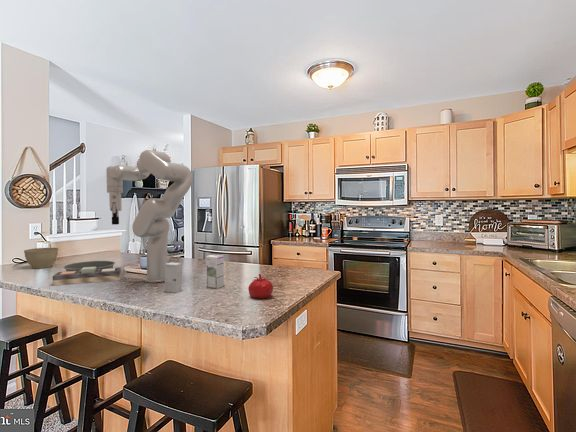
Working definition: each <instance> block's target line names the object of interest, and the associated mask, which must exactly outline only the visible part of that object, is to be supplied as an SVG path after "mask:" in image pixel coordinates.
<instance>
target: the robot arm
mask: <svg viewBox="0 0 576 432" xmlns="http://www.w3.org/2000/svg"><path fill="white" fill-rule="evenodd" d="M138 158H139V159H138V160H137V162H136V166H131V165H123V164H117V165H114V166H111V165H110V166H107V167H106V169H105V173H106V193H109V196H108V197H109V211H110V212H111V225H113V226H114V225H119V224H120V217H119V216H120V215H119V212H122V211H123V209H122V194H124V187H123V185H124V183H123V182H124V181H129V182H130V181H132V182H137V181H141V180H145V179H147V178H148V177H149V176H150V175H152V176H154V177H155V178H156V179H158V180H161V181H167V182H173V183H172V184H171V185H169V186H168V187H167V188H166V190H165V192H164V194H163V195H162V196H161V197H160V198H150V199H147V200H145V201H144V202H143V204H142V205H141V207H140V209H139V211H138V213H137V214H136V217H135V218H134V220H133V223H132V228H131V229H132V232H133V234H134V236H136V237H139V238H148V239H147V241H146V277H144V278H143V282H144V283H153V284H154V283H162V282H164V283H165V264H167V263H168V239H169V238H168V237H169V231H170V222H169V220H168V219H170V218H172V217H173V216H174V215H175V213H176V211H177V210H178V208H179V207H180V205H181V203H182V201H183V199H184V198H185V196H186V195H187V194H188V192H189V190H190V188H191V186H192V183H193V173H192V170H191V169H190V168H189V167H188V166H186V165H185V164H180V163H175V162H172V161H171V157H170V156H169V155H168V154H167V153H166V152H162V151H159V150H153V149H145V150H143V151H142V152H140V155H139V157H138Z"/></svg>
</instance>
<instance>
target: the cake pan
mask: <svg viewBox="0 0 576 432" xmlns="http://www.w3.org/2000/svg"><path fill="white" fill-rule="evenodd" d="M115 264H116V262H115V261H111V260H91V261H90V260H89V261H80V262H74V263H69V264H66V265H64V266H63V269H65V271H79V270H81V269H82V268H83V267H96V269H108V268H114V266H115Z"/></svg>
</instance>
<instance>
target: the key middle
mask: <svg viewBox="0 0 576 432" xmlns="http://www.w3.org/2000/svg"><path fill="white" fill-rule="evenodd" d="M95 271H96V267H83V268H82V269H81V273H94V272H95Z"/></svg>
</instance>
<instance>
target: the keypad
mask: <svg viewBox="0 0 576 432" xmlns="http://www.w3.org/2000/svg"><path fill="white" fill-rule="evenodd" d="M114 268H115V270H116V271H108V272H101V271H102V270H103V269H96V271H95V272H94V273H81V270H79V271H76V274H67V275H60V274H61V273H62V272H63V271H58V272H56V273H55V274H54V275H52V287H53V286H54V287H55V286H56V287H57V286H67V284H68V285H76V284H78V285H79V284H89V283H90V284H92V283H104V282H112V281H113V282H114V281H116V282H117V281H120V278H122V272H121V271H122V268H121V267H114ZM108 269H112V268H108ZM64 272H70V271H66V270H65V271H64Z"/></svg>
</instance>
